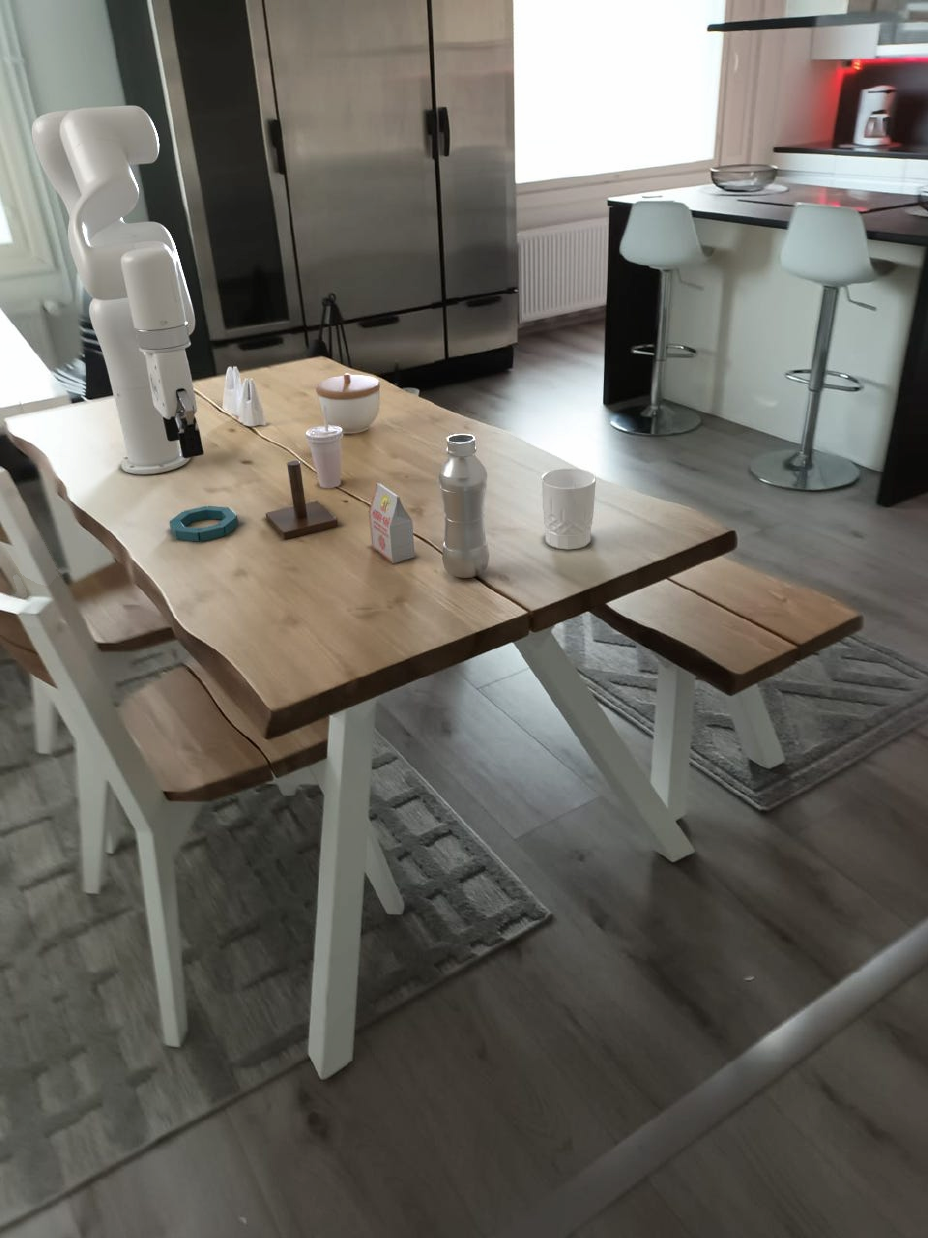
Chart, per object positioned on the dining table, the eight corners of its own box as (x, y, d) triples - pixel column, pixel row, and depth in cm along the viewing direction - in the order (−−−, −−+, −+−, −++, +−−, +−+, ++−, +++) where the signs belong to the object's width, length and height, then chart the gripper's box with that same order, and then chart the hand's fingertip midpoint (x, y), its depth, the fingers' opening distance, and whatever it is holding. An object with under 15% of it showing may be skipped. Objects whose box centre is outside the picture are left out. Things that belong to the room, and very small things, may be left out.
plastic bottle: (441, 564, 138) (433, 432, 128) (487, 560, 138) (483, 428, 128) (444, 585, 132) (436, 448, 122) (492, 581, 133) (488, 445, 123)
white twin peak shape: (222, 416, 203) (213, 365, 197) (240, 412, 205) (231, 360, 200) (250, 429, 195) (241, 375, 189) (268, 424, 197) (259, 371, 191)
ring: (166, 524, 155) (164, 515, 154) (226, 510, 159) (224, 501, 158) (181, 546, 147) (179, 537, 146) (244, 531, 151) (242, 522, 150)
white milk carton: (393, 540, 145) (388, 479, 140) (414, 556, 140) (410, 494, 135) (372, 547, 144) (366, 485, 139) (392, 563, 139) (387, 500, 134)
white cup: (580, 555, 138) (581, 492, 133) (532, 545, 142) (532, 482, 137) (602, 535, 144) (605, 473, 139) (556, 525, 148) (557, 464, 143)
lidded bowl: (395, 423, 194) (391, 369, 189) (357, 442, 185) (351, 386, 180) (347, 414, 200) (341, 362, 195) (308, 432, 191) (301, 378, 186)
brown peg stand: (266, 519, 155) (256, 460, 149) (318, 507, 158) (310, 448, 153) (284, 539, 148) (275, 477, 143) (338, 525, 151) (331, 465, 146)
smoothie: (341, 491, 164) (332, 412, 156) (306, 490, 165) (296, 411, 158) (353, 477, 169) (344, 400, 162) (318, 476, 170) (309, 400, 163)
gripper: (126, 331, 146) (149, 438, 155) (150, 352, 133) (174, 468, 141) (174, 324, 149) (195, 429, 158) (203, 343, 136) (224, 457, 144)
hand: (185, 447), depth 149 cm, fingers open, 9 cm apart
